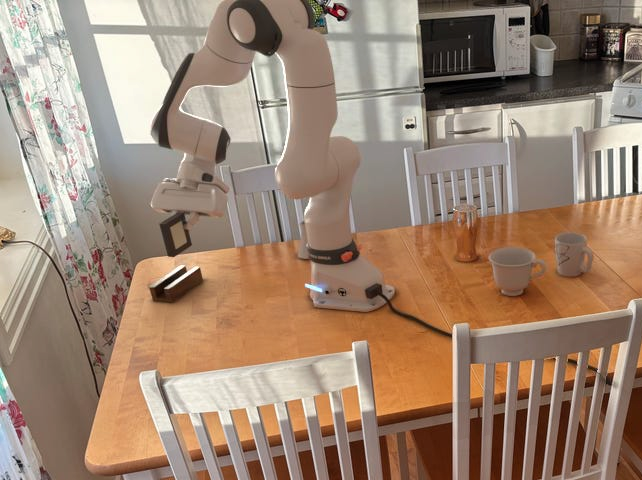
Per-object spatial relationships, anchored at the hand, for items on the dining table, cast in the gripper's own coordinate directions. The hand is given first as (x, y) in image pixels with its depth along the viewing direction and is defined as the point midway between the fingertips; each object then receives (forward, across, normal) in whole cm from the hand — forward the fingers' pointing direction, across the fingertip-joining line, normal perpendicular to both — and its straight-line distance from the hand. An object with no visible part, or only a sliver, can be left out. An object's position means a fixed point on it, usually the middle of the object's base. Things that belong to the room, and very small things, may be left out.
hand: (181, 229), depth 188 cm
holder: (+14, -4, +10) cm, 17 cm away
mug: (-9, +98, +32) cm, 104 cm away
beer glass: (-12, +67, +35) cm, 77 cm away
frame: (+5, 0, +2) cm, 6 cm away
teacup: (+1, +86, +22) cm, 89 cm away
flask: (-7, +21, +31) cm, 38 cm away
